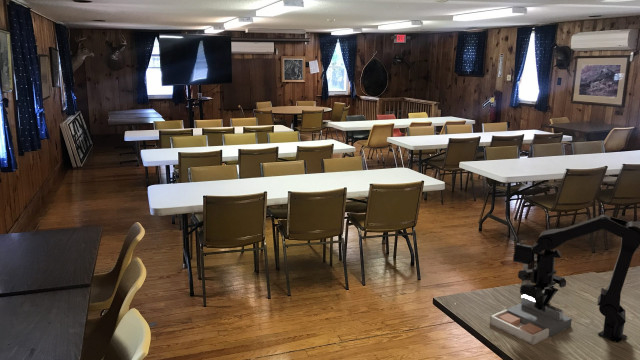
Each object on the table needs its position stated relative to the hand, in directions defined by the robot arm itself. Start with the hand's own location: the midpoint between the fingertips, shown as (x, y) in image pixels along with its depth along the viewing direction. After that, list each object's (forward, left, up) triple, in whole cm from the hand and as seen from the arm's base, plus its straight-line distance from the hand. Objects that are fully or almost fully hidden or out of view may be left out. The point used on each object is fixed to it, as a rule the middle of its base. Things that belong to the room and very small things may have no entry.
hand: (541, 308), depth 177 cm
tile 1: (+12, -4, -4) cm, 13 cm away
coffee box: (-16, -13, -5) cm, 21 cm away
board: (+2, 0, -5) cm, 5 cm away
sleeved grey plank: (0, 0, -2) cm, 2 cm away
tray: (+13, 0, -5) cm, 13 cm away
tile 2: (+12, +4, -4) cm, 13 cm away
